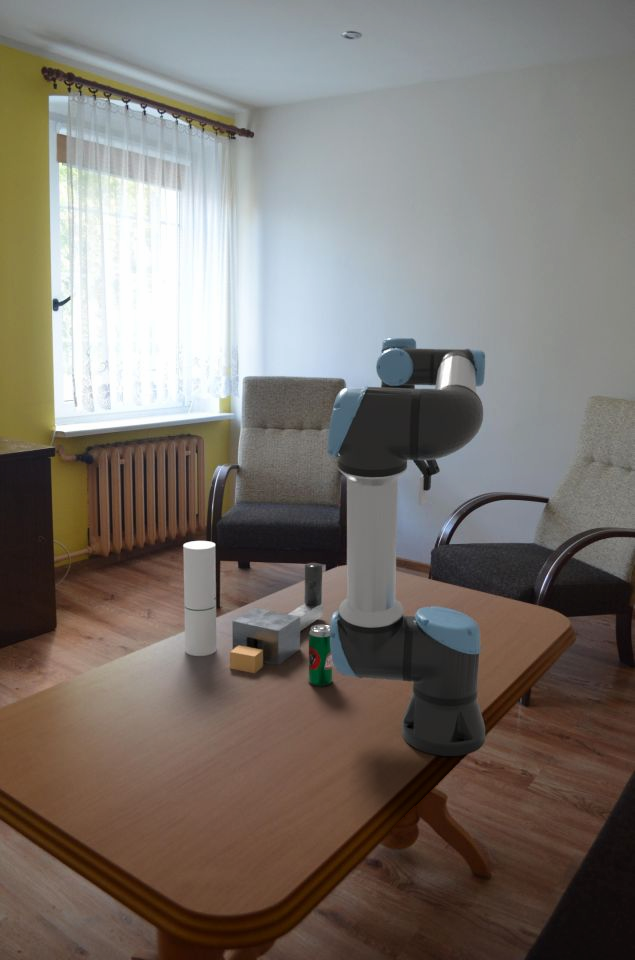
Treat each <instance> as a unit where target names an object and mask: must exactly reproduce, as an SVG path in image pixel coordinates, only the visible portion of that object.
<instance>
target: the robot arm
mask: <svg viewBox="0 0 635 960" xmlns="http://www.w3.org/2000/svg"><path fill="white" fill-rule="evenodd" d="M381 347H382V348H381V352H380V353H381V354H379V356H378V358H377V360H376V366H375V370H376V374H377V377H378V378H379V379H380V381H381V382H380V383H381V384H380V385H381V386H380V387H379V386H368V385H365V386H360V387H357V386H356V387H354V386H353V387H345V388H342V389H340V390H339V392H338V394H337V395H336V397H335V400H334V404H333V407H332V411H331V417H330V421H329V423H330V424H329V427H328V436H327V455H328V456H329V457H332V458H333V459H336V458H337V469H338V471H339V472H340V473H341V474H343V475H344V476H345V477H346V556H347V557H346V570H347V571H346V573H347V574H346V576H347V577H346V579H347V580H346V582H347V583H346V584H347V586H346V587H347V589H346V590H347V593H346V594H347V595H346V598H344V600H343V601H341V603H340V605H338V606H339V607H338V610H336V611H334V612H333V613H332V615H331V619H330V625H329V626H330V648H331V655H332V660H333V666H334V668H335V670H336V671H337V672H338V673H339V674H341V675H342V676H348V677H355V678H358V679H365V678H366V679H374V680H375V679H377V680H387V681H388V680H389V681H390V680H391V681H400V682H401V681H402V682H411V683H412V694H411V697H410V699H409V702H408V704H407V707H406V709H405V712H404V714H403V717H402V721H401V735H402V737H403V740H404V741H405V742H407V744H408V745H410V746H411V747H412V748H415V749H416V750H419V751H421V752H424V753H426V754H431V755H435V756H443V757H460V756H465V755H469V754H473V753H474V752H476V751H478V750H480V749H481V748H482V747H483V746H484V744H485V740H486V726H485V722H484V718H483V715H482V712H481V711H482V710H481V708H480V704H479V701H478V693H479V692H478V690H479V669H480V666H479V665H480V654H481V652H482V645H481V630H480V627H479V624H478V622H476V621H475V620H474V619H473V618H472V617H471V616H469V615H467V614H466V613H464V612H461V611H459V610H455V609H452V608H447V607H445V606H435V605H434V606H429V607H428V606H424V607H420V608H419V609H417V611H416V612H415V614H414V616H409V615H404V607H403V605H402V603H401V602H400V601H399V600H398V599H396V583H397V581H396V580H397V576H396V575H397V573H396V572H397V537H398V536H397V533H398V532H397V531H398V492H399V491H398V489H399V488H398V485H399V484H398V483H399V482H398V481H399V478H400V476H402V475H403V474H404V473H405V472H406V471H407V468H408V461H413V463H414V464H415V465H416V466H417V468H418V470H419V471H420V473H421V474H422V475H420V476H419V486H418V490H419V492H418V506H422V507H423V506H424V505H426V504H427V491H430V490H431V487H432V486H431V485H432V476H433V475H436V474H438V473H440V472H441V470H440V467H439V464H438V461H437V460H438V459H441V458H444V457H447V456H450V455H451V454H454V453H456V452H458V451H459V450H461V449H462V448H464V447H465V446H466V445H468V444H470V442H472V440H473V439H474V438H475V437H476V435H477V434H478V433H479V431H480V430H481V427H482V424H483V421H484V408H483V407H484V406H483V402H482V400H481V398H480V396H479V395H478V394H477V387H481V386H483V384H484V382H485V373H486V372H485V370H486V353H485V352H484V351H483V350H479V349H470V348H465V349H459V348H458V349H455V348H454V349H453V348H450V349H448V348H445V349H444V348H437V349H436V348H417V341H416V340H415V339H414V338H413V337H411V338H409V337H407V338H406V337H405V338H404V337H386V338H384V339H383V341H382V346H381ZM416 386H435V388H416Z"/></svg>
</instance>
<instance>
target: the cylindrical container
mask: <svg viewBox="0 0 635 960" xmlns="http://www.w3.org/2000/svg"><path fill="white" fill-rule="evenodd" d="M182 547H183V550H182V551H183V596H184V597H183V601H184V602H183V603H184V604H183V605H184V606H183V607H184V645H185V646H184V649H185V650H184V651H185V653H186V654H187V655H190V656H194V657H195V656H196V657H204V656H209V655H212V654H214V653H216V652H217V582H216V581H217V580H216V579H217V575H216V571H217V570H216V569H217V568H216V543H215V542H213V541H208V540H193V541H188V542H185V543H183V545H182Z"/></svg>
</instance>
